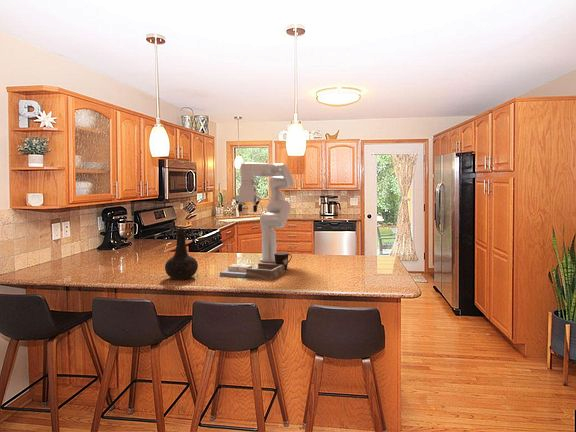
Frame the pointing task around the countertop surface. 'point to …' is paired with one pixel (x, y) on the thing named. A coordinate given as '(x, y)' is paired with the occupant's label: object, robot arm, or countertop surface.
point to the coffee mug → (282, 259)
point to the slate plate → (234, 273)
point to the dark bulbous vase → (181, 260)
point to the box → (265, 271)
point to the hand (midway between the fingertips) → (247, 211)
